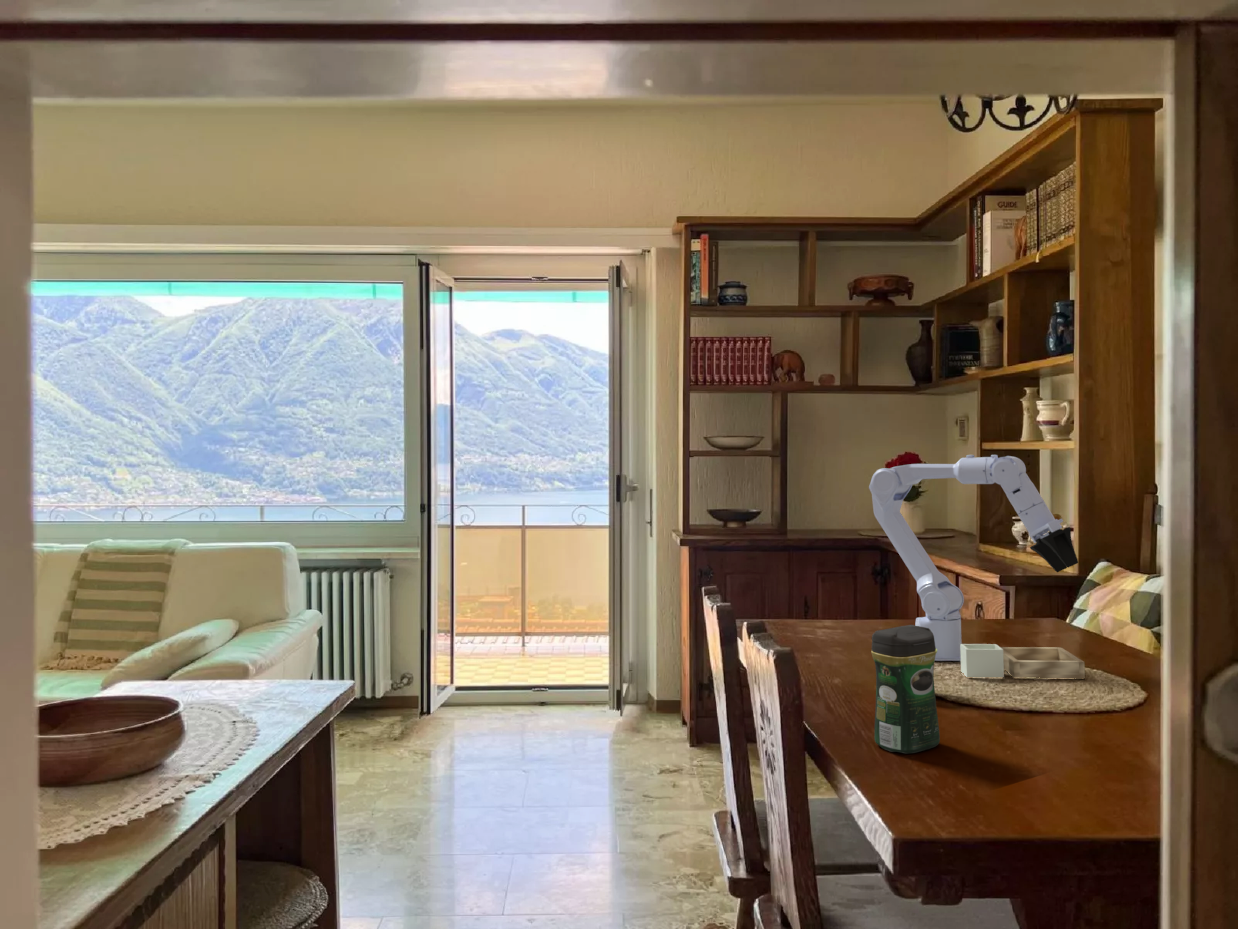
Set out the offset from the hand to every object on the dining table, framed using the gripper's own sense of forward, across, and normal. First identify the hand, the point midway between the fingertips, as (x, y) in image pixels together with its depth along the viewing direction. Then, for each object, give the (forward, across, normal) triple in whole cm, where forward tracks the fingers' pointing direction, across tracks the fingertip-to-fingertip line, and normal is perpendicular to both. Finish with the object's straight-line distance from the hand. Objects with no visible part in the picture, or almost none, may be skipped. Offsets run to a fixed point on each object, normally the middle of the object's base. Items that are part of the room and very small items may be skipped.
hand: (1067, 567), depth 176 cm
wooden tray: (+16, +6, +14) cm, 22 cm away
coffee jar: (+14, -42, +48) cm, 65 cm away
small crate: (+12, +2, +25) cm, 28 cm away
